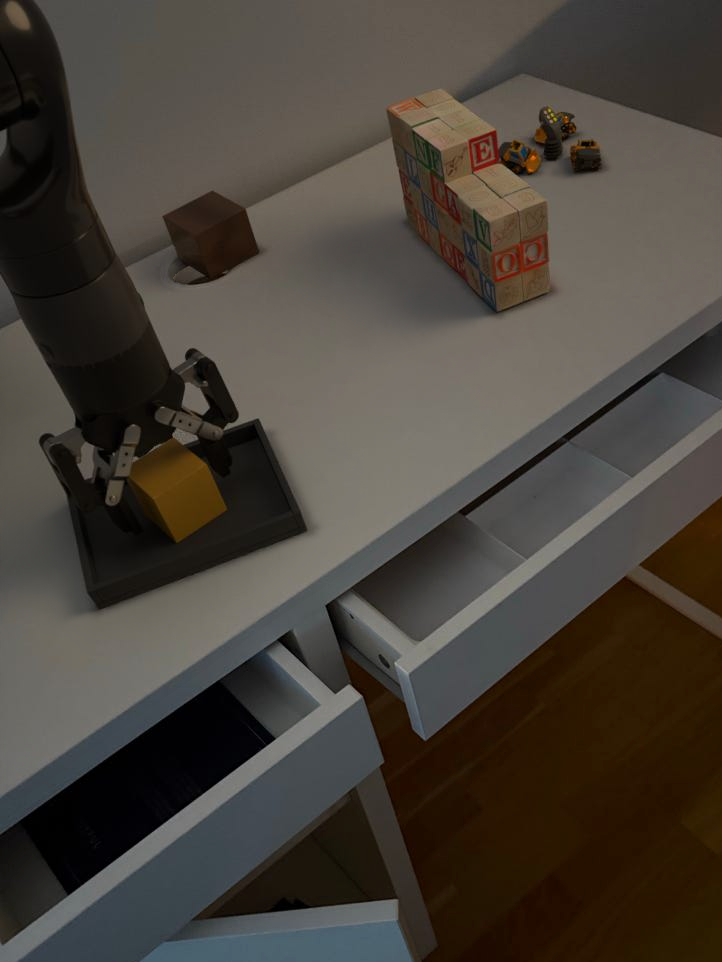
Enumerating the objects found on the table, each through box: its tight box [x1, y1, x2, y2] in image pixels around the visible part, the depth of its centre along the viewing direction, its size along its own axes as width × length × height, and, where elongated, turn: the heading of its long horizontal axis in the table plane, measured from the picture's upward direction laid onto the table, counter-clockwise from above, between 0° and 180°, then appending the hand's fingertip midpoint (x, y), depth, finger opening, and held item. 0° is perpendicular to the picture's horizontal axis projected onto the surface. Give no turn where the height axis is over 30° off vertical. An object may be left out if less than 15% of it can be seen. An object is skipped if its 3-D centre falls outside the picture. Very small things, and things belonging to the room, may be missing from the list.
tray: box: [65, 417, 308, 610], centre depth 77 cm, size 17×13×2 cm
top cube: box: [126, 437, 227, 543], centre depth 75 cm, size 5×5×5 cm
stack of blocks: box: [385, 88, 551, 313], centre depth 92 cm, size 21×6×12 cm, turn 27°
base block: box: [162, 190, 260, 280], centre depth 101 cm, size 6×6×5 cm
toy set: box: [498, 106, 602, 174], centre depth 105 cm, size 12×11×5 cm
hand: (178, 499), depth 76 cm, fingers open, 8 cm apart
